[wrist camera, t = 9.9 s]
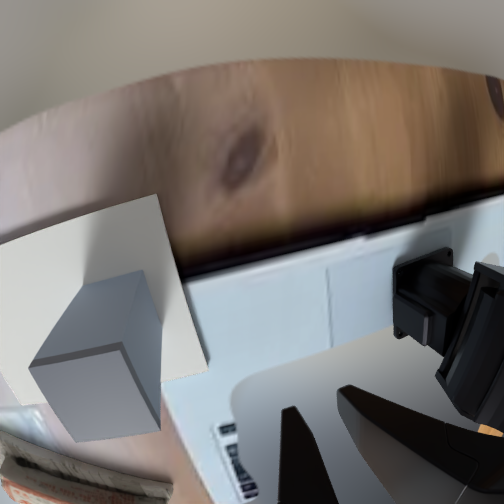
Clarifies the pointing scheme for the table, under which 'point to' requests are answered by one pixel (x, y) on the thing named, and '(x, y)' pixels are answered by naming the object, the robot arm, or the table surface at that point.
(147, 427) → the block
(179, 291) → the mat
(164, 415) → the table surface
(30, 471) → the packaged product
